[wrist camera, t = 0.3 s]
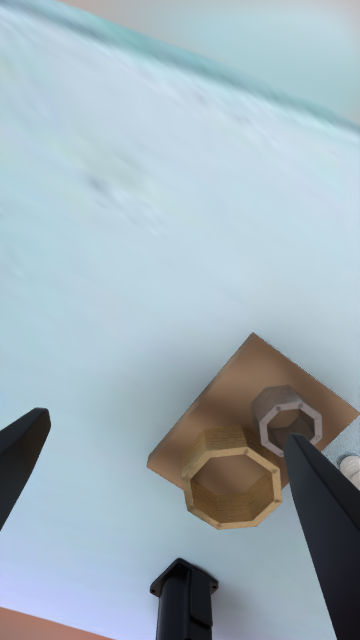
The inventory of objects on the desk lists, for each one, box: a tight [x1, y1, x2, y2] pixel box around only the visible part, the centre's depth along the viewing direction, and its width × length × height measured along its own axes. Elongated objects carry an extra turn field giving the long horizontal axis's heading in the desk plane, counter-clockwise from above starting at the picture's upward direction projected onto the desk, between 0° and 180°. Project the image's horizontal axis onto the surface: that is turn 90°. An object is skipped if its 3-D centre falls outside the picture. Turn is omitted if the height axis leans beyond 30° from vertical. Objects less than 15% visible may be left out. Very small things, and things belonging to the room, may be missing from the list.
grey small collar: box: [251, 385, 322, 457], centre depth 22 cm, size 5×5×3 cm
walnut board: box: [147, 333, 360, 495], centre depth 25 cm, size 18×13×2 cm
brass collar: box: [182, 425, 282, 530], centre depth 24 cm, size 9×9×3 cm
